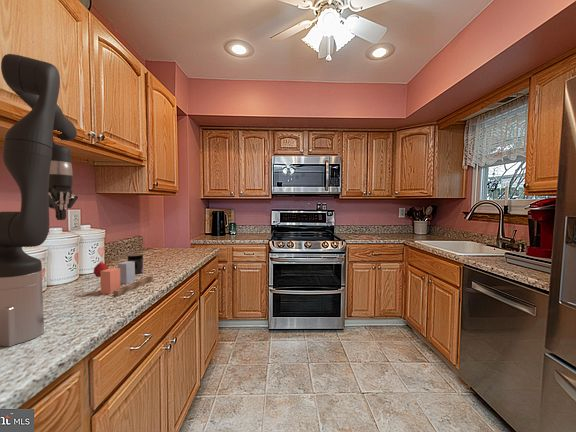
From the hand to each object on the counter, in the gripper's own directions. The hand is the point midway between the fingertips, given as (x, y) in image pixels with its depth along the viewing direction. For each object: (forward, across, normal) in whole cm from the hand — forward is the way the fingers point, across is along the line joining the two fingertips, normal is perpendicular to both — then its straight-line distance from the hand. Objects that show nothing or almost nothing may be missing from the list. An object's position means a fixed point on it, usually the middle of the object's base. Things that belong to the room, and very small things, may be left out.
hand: (61, 219), depth 101 cm
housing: (+29, +8, -18) cm, 35 cm away
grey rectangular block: (+28, +14, -16) cm, 35 cm away
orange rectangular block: (+28, +2, -18) cm, 33 cm away
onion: (+29, +22, +4) cm, 37 cm away
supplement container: (+29, +28, -9) cm, 42 cm away
